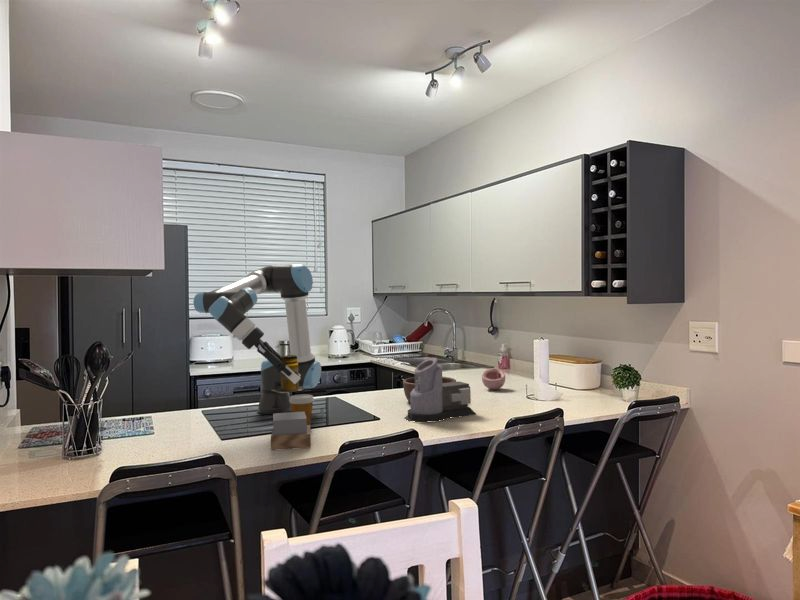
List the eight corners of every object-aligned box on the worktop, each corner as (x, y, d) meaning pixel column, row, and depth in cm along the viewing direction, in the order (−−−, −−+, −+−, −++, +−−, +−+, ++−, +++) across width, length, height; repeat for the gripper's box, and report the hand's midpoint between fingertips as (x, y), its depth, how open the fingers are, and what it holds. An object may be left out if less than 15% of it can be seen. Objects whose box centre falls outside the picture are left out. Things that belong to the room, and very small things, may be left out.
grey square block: (273, 435, 184) (273, 420, 184) (273, 427, 195) (273, 413, 195) (306, 433, 187) (306, 418, 186) (304, 425, 197) (304, 411, 197)
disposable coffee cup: (305, 423, 220) (304, 393, 220) (319, 427, 213) (318, 396, 213) (284, 427, 213) (284, 396, 213) (298, 431, 207) (298, 399, 206)
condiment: (303, 390, 190) (303, 355, 190) (282, 393, 185) (281, 358, 184) (292, 387, 196) (291, 354, 196) (271, 391, 190) (270, 356, 190)
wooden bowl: (422, 394, 276) (422, 374, 275) (466, 400, 261) (466, 378, 261) (392, 403, 255) (392, 381, 255) (438, 409, 241) (438, 386, 240)
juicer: (417, 425, 214) (416, 362, 214) (397, 416, 228) (396, 358, 228) (479, 415, 228) (478, 356, 228) (458, 408, 243) (457, 353, 242)
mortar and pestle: (481, 391, 281) (481, 369, 280) (482, 387, 293) (481, 366, 292) (505, 392, 279) (505, 369, 279) (505, 387, 291) (504, 366, 290)
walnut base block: (271, 451, 183) (270, 436, 183) (273, 441, 196) (273, 427, 196) (310, 448, 185) (310, 434, 185) (310, 438, 198) (310, 424, 198)
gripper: (244, 339, 197) (291, 383, 200) (236, 344, 178) (289, 392, 181) (259, 324, 198) (306, 368, 201) (253, 327, 179) (305, 375, 182)
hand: (297, 379), depth 191 cm, fingers closed on condiment, 6 cm apart
